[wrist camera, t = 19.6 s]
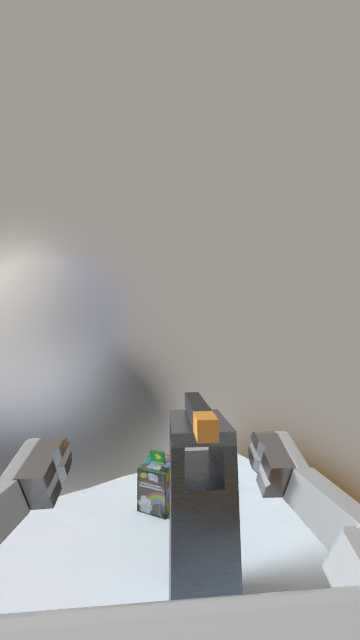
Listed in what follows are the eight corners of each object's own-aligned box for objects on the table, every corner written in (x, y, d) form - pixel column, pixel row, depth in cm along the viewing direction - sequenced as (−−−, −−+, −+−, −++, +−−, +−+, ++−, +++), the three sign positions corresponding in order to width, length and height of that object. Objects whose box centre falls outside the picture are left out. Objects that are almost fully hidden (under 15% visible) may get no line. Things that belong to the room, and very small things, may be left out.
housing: (170, 697, 27) (171, 433, 31) (169, 590, 38) (169, 410, 43) (246, 689, 27) (236, 431, 32) (221, 586, 39) (217, 409, 44)
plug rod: (197, 443, 28) (197, 420, 28) (184, 406, 46) (184, 392, 46) (219, 442, 28) (218, 419, 28) (198, 406, 46) (198, 392, 46)
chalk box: (178, 497, 63) (178, 444, 65) (165, 520, 54) (166, 459, 56) (151, 490, 66) (152, 440, 68) (135, 511, 57) (136, 453, 59)
